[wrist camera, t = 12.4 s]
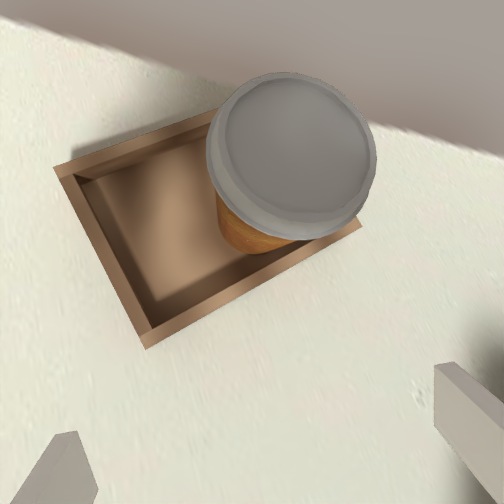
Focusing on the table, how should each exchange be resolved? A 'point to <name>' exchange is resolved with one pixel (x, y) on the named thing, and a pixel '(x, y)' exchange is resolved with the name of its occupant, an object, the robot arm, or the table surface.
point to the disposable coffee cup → (288, 162)
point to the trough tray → (168, 229)
